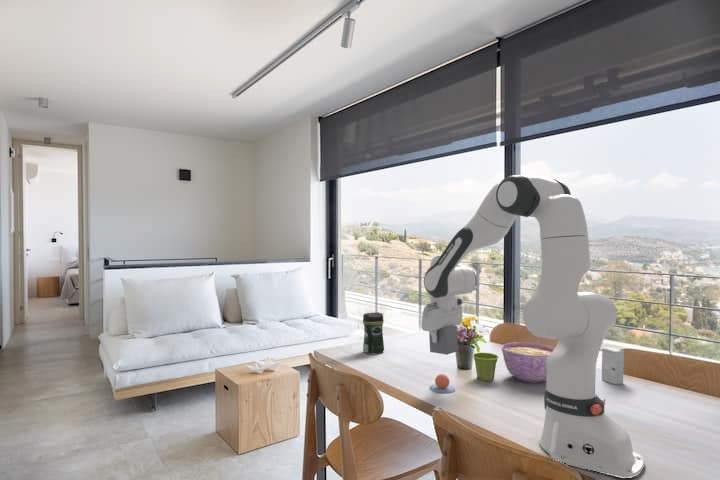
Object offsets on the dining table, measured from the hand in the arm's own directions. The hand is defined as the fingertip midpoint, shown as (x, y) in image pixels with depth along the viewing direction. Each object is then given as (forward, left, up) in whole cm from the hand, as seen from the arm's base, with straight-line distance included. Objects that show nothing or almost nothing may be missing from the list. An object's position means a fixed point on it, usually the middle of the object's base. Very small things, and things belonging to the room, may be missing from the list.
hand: (442, 340), depth 152 cm
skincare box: (-40, -51, -17) cm, 67 cm away
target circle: (0, 0, -17) cm, 17 cm away
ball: (0, 0, -14) cm, 15 cm away
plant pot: (-5, -21, -17) cm, 28 cm away
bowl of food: (-17, -32, -17) cm, 40 cm away
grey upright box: (-1, 0, -4) cm, 4 cm away
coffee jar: (+52, -19, -17) cm, 58 cm away
